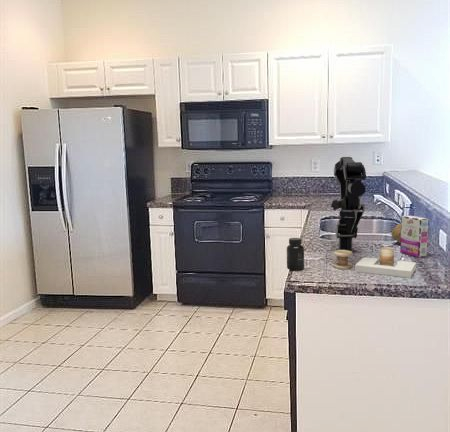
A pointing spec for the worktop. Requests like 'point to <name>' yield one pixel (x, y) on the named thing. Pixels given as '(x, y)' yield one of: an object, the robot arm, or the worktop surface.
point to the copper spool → (386, 256)
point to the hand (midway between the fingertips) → (352, 230)
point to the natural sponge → (397, 233)
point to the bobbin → (342, 259)
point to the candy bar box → (414, 236)
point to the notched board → (385, 268)
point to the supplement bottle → (295, 254)
